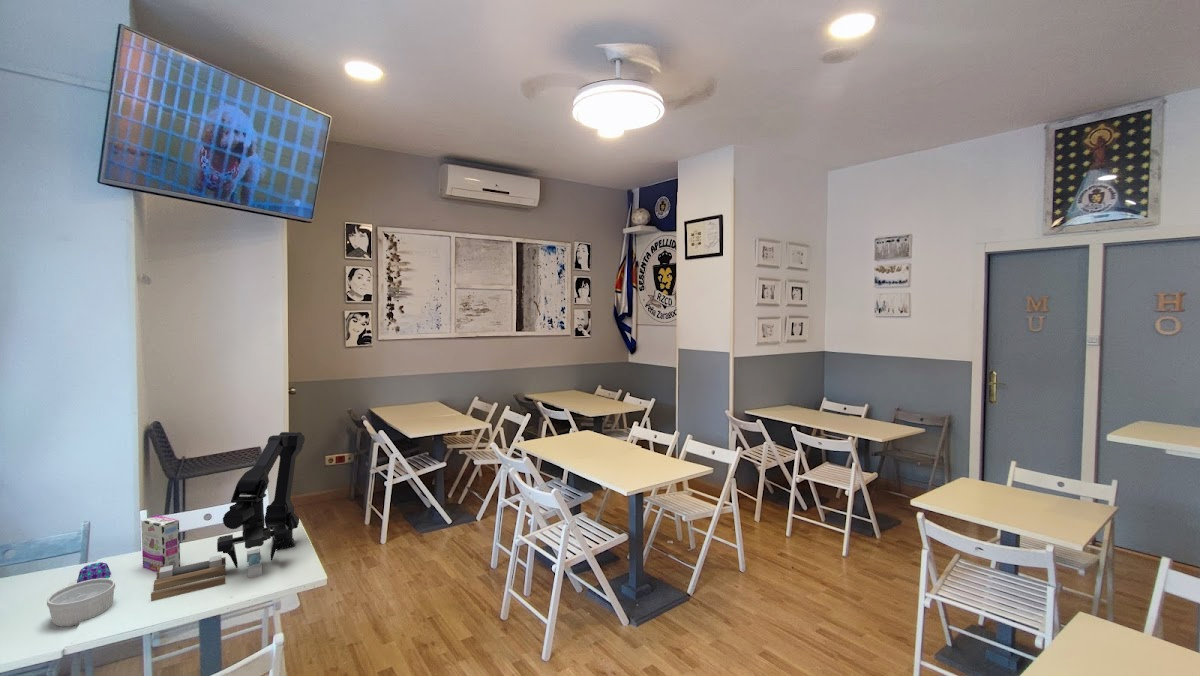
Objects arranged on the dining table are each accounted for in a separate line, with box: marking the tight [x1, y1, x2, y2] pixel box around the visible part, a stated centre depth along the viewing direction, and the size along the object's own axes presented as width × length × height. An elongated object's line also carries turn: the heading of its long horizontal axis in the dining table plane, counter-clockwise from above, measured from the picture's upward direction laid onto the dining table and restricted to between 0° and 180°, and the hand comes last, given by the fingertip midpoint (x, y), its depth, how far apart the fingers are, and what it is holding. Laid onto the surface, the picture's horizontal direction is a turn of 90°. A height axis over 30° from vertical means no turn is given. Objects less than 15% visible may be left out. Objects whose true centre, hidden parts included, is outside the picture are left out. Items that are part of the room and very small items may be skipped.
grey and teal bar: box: [246, 548, 263, 579], centre depth 170 cm, size 15×4×4 cm, turn 35°
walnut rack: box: [150, 556, 227, 602], centre depth 161 cm, size 15×17×3 cm
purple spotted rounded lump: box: [67, 561, 112, 586], centre depth 161 cm, size 12×12×5 cm
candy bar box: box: [140, 514, 181, 573], centre depth 168 cm, size 11×5×16 cm, turn 68°
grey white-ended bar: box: [159, 554, 223, 579], centre depth 164 cm, size 15×4×4 cm, turn 125°
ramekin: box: [46, 578, 116, 628], centre depth 144 cm, size 13×13×7 cm
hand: (254, 563), depth 170 cm, fingers open, 9 cm apart
